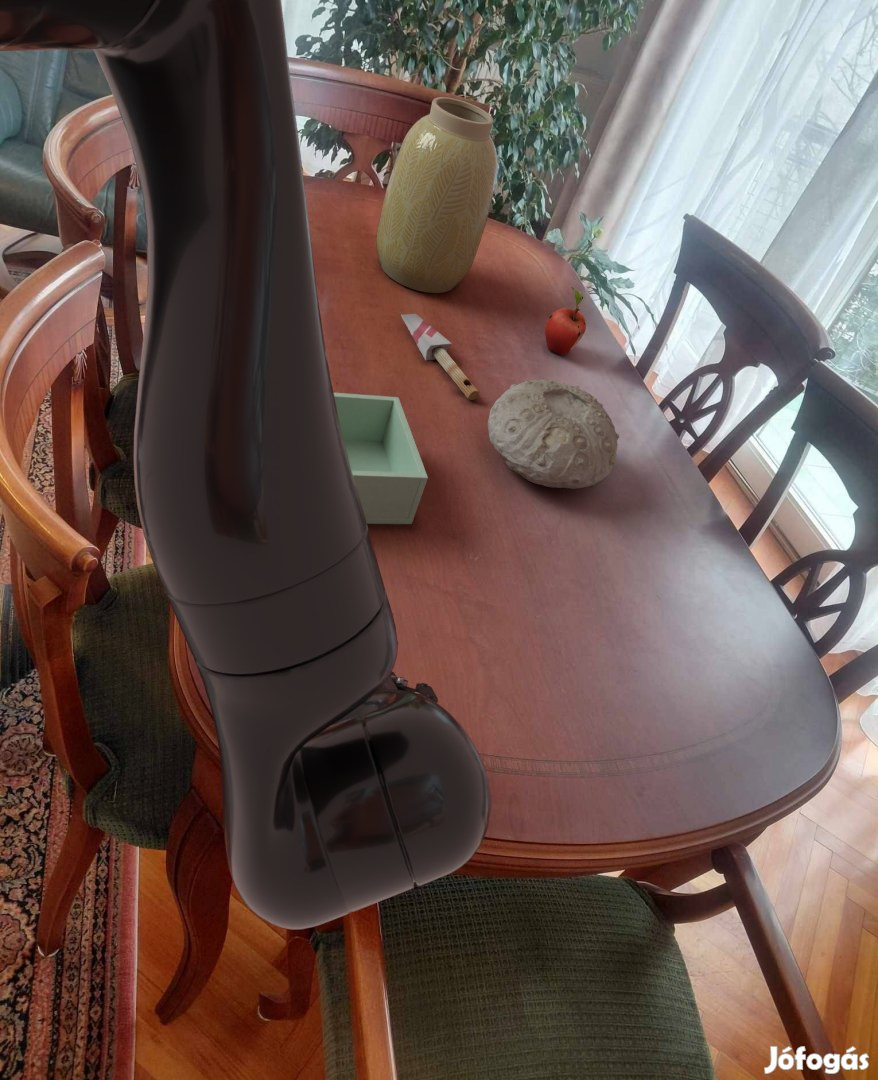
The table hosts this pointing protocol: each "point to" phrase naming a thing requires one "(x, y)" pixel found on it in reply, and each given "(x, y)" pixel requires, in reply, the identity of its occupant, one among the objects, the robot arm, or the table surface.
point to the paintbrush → (438, 351)
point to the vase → (438, 197)
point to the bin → (381, 457)
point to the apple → (565, 328)
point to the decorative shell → (553, 434)
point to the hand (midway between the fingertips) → (334, 672)
